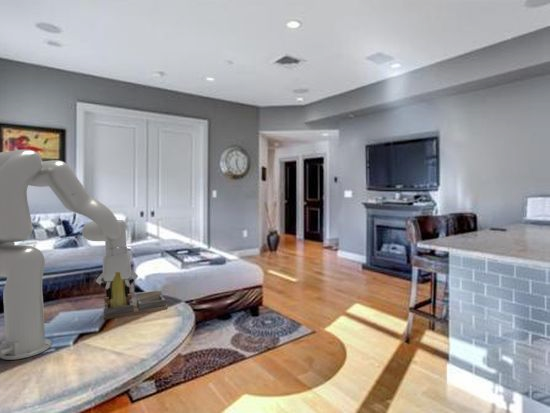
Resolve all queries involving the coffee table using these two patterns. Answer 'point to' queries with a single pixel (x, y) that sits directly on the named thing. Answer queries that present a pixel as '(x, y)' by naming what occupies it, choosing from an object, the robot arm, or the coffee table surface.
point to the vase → (118, 292)
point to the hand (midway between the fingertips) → (118, 296)
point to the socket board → (136, 305)
